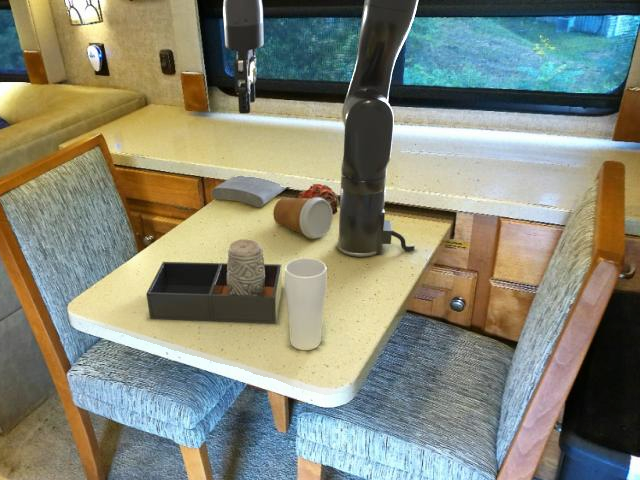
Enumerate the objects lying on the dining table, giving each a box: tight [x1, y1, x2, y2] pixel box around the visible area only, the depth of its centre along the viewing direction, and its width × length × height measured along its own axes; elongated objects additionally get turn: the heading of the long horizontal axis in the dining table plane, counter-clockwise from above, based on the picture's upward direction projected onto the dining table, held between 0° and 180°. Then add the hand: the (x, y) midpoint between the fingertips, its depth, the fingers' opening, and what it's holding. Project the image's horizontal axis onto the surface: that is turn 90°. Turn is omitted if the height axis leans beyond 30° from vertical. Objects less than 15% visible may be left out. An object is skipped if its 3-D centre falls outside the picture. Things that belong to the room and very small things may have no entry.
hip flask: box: [211, 176, 288, 208], centre depth 162 cm, size 16×4×20 cm
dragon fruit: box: [296, 183, 340, 216], centre depth 146 cm, size 8×8×12 cm
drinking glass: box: [284, 257, 328, 351], centre depth 100 cm, size 7×7×15 cm
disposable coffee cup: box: [272, 197, 334, 240], centre depth 138 cm, size 10×10×12 cm
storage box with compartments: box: [145, 261, 283, 325], centre depth 114 cm, size 24×12×6 cm, turn 82°
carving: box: [226, 238, 265, 296], centre depth 111 cm, size 6×8×12 cm
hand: (247, 107), depth 123 cm, fingers open, 8 cm apart
